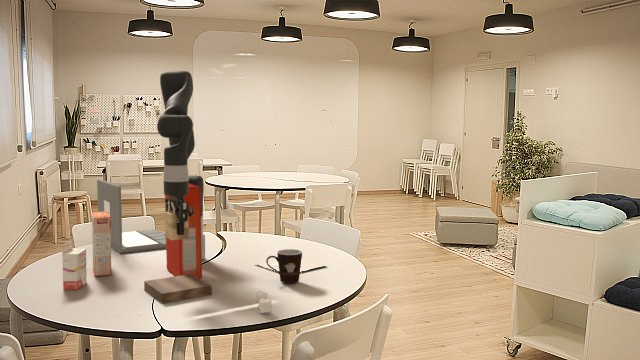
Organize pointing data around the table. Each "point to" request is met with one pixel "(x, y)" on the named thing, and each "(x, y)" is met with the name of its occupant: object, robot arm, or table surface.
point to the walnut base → (177, 288)
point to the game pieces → (263, 302)
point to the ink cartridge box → (73, 267)
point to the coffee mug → (288, 265)
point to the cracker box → (101, 243)
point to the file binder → (187, 240)
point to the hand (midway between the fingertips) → (176, 232)
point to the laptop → (121, 240)
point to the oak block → (174, 227)
